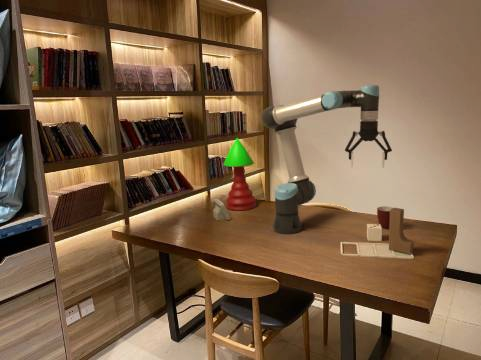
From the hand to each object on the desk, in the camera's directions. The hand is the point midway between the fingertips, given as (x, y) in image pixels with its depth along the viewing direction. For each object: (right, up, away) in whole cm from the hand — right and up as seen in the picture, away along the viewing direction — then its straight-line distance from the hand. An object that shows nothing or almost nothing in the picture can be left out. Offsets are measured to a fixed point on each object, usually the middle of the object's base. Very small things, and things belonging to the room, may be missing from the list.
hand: (367, 166), depth 168 cm
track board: (0, -37, -10) cm, 38 cm away
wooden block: (+10, -36, -13) cm, 40 cm away
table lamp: (-58, -24, +68) cm, 93 cm away
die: (+4, -34, +3) cm, 34 cm away
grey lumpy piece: (-70, -29, +48) cm, 89 cm away
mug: (+16, -31, +15) cm, 38 cm away
